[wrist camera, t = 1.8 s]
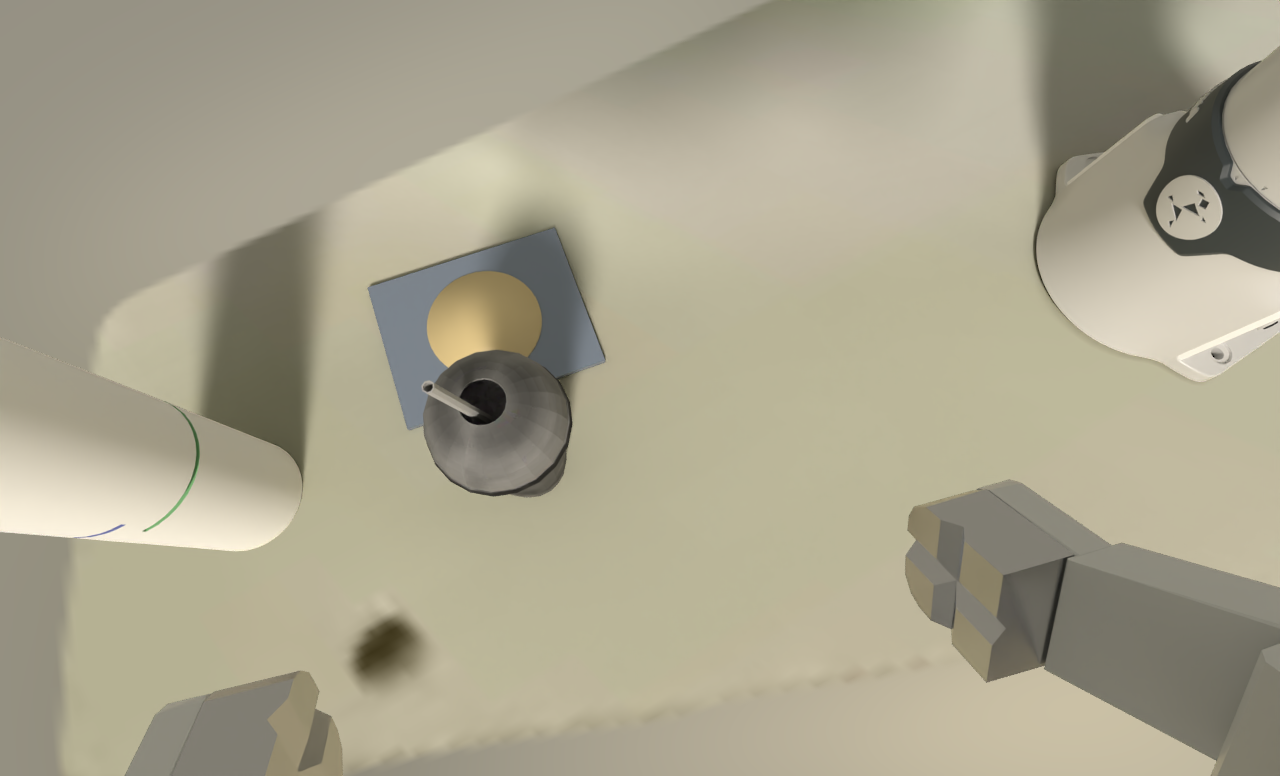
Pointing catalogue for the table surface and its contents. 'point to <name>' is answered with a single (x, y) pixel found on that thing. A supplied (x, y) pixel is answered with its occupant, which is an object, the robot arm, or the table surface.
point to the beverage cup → (498, 424)
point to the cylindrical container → (130, 464)
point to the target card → (484, 315)
